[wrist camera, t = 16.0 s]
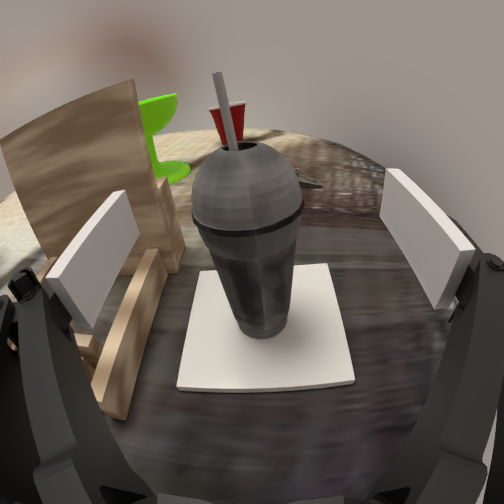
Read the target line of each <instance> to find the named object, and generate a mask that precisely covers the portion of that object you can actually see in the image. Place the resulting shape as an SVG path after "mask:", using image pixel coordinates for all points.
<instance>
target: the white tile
mask: <svg viewBox="0 0 504 504" xmlns="http://www.w3.org/2000/svg"><path fill="white" fill-rule="evenodd" d="M354 381H355V377H354V372H353V367H352V362H351V358H350V353H349V349H348V344H347V340H346V335H345V331H344V327H343V323H342V319H341V314H340V310H339V306H338V303H337V299H336V295H335V291H334V287H333V284H332V280H331V276H330V273H329V269H328V266H327V263H326V264H312V265H297V266H294V270H293V280H292V290H291V300H290V309H289V312H288V316H287V323H286V326H285V328H284V329H283V330H282V331H281V332H280V333H279V334H277V335H276V336H274V337H271V338H268V339H255V338H251V337H249V336H247V335H245V334H244V333H243V332H242V331H241V330H240V328H239V325H238V323H237V321H236V319H235V318H234V315H233V313H232V310H231V307H230V305H229V302H228V299H227V297H226V294H225V291H224V289H223V286H222V283H221V281H220V278H219V275H218V273H217V270H214V271H200V275H199V279H198V283H197V288H196V292H195V297H194V301H193V306H192V310H191V315H190V320H189V325H188V329H187V334H186V339H185V344H184V349H183V354H182V360H181V365H180V370H179V376H178V381H177V388H178V389H179V390H180V391H196V392H226V393H248V392H278V391H294V390H306V389H316V388H325V387H334V386H341V385H348V384H353V383H354Z"/></svg>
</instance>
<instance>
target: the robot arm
mask: <svg viewBox="0 0 504 504" xmlns="http://www.w3.org/2000/svg"><path fill="white" fill-rule="evenodd" d="M380 218H381V219H382V221H383V222H384V224H385V225H386V227H387V228H388V230H389V231H390V233H391V234H392V236H393V237H394V239H395V241H396V242H397V244H398V245H399V247H400V249H401V250H402V252H403V254H404V255H405V257H406V259H407V260H408V262H409V264H410V265H411V267H412V269H413V271H414V272H415V274H416V276H417V278H418V280H419V281H420V283H421V285H422V287H423V289H424V291H425V293H426V294H427V296H428V298H429V300H430V302H431V304H432V306H433V308H434V310H435V309H440V308H445V307H449V306H450V304H451V302H452V300H453V298H454V296H456V297H457V299H458V301H459V303H458V305H457V307H456V309H455V311H454V312H453V314H452V316H451V318H450V319H449V321H448V322H449V323H451V321H452V319H453V322H452V326H451V329H450V333H449V337H448V340H447V344H446V347H445V350H444V353H443V356H442V359H441V362H440V365H439V368H438V371H437V374H436V377H435V379H434V382H433V385H432V387H431V390H430V392H429V395H428V397H427V400H426V402H425V404H424V406H423V409H422V411H421V413H420V415H419V418H418V420H417V422H416V424H415V426H414V428H413V430H412V432H411V434H410V436H409V438H408V440H407V442H406V443H405V445H404V447H403V449H402V451H401V453H400V454H399V456H398V458H397V459H396V461H395V463H394V464H393V466H392V467H391V468H390V469H389V470H388V471H387V472H386V473H385V474H384V475H383V476H382V477H381V479H380V480H379V481H378V482H377V484H376V485H375V486H374V488H373V489H372V491H371V492H370V494H369V495H368V496H367V498H366V499H365V500H360V499H354V498H346V497H343V495H338V496H329V497H321V498H313V499H304V500H293V501H289V502H286V503H282V504H475V503H476V501H477V498H478V497H479V495H480V493H481V490H482V488H483V486H484V484H485V481H486V477H487V466H486V465H485V464H484V463H483V462H482V457H483V453H484V450H485V448H486V445H487V441H488V439H489V435H490V432H491V429H492V425H493V422H494V418H495V414H496V410H497V422H496V432H495V440H494V448H493V455H492V460H491V465H490V471H489V475H488V480H487V484H486V489H485V494H484V499H483V504H504V262H503V261H502V260H501V259H500V258H499V257H497V256H496V255H493V254H490V253H483V252H482V251H481V250H480V248H479V247H478V246H477V245H476V243H475V242H474V241H473V240H472V239H471V237H470V236H469V235H467V233H466V232H465V230H463V229H462V227H461V226H460V225H459V224H458V223H457V222H456V221H455V220H454V219H453V218H451V217H450V216H448V215H446V214H445V213H444V212H443V211H442V210H441V209H440V208H439V207H438V206H437V205H436V204H435V203H434V202H433V201H432V200H431V199H430V198H429V197H428V196H427V195H426V194H425V193H424V192H423V191H422V190H421V189H420V188H419V187H418V186H417V185H416V184H415V183H414V182H413V181H412V180H411V179H409V178H408V177H407V176H406V175H405V174H404V173H403V172H402V171H401V170H400V169H386V173H385V182H384V190H383V197H382V204H381V210H380ZM139 235H140V232H139V230H138V227H137V224H136V221H135V218H134V215H133V212H132V209H131V206H130V203H129V200H128V197H127V194H126V191H125V190H121V191H116V192H113V193H112V194H111V195H110V196H109V197H108V198H107V199H106V200H105V202H104V203H103V204H102V205H101V206H100V207H99V208H98V210H97V211H96V212H95V213H94V214H93V215H92V217H91V218H90V219H89V220H88V221H87V223H86V224H85V225H84V226H83V228H82V229H81V230H80V231H79V232H78V234H77V235H76V236H75V238H74V239H73V240H72V241H71V243H70V244H69V245H68V247H67V248H66V249H65V250H64V251H63V253H62V254H61V255H60V257H59V259H57V261H56V262H55V264H54V265H53V266H52V268H51V269H50V271H49V272H48V274H47V275H46V277H45V278H44V280H43V281H42V283H41V284H40V282H39V280H38V279H37V277H36V275H35V274H34V272H33V271H32V269H31V268H30V267H25V268H23V269H21V270H19V271H18V272H17V273H15V274H14V275H13V277H12V278H11V279H10V281H9V283H8V288H9V289H10V291H11V292H12V294H13V295H14V296H15V298H16V299H17V302H14V303H13V302H12V301H11V300H10V298H9V297H8V295H2V296H0V504H233V503H229V502H226V501H221V500H210V499H200V498H192V497H184V496H177V495H170V494H164V493H158V496H155V495H154V494H153V492H152V491H151V489H150V488H149V487H148V485H147V484H146V483H145V482H144V481H143V480H142V479H141V478H140V477H139V476H138V475H137V474H136V473H134V471H133V470H132V469H131V468H130V466H129V465H128V463H127V461H126V459H125V458H124V456H123V454H122V452H121V450H120V448H119V447H118V445H117V443H116V441H115V439H114V437H113V435H112V433H111V431H110V429H109V427H108V424H107V422H106V420H105V418H104V416H103V414H102V411H101V409H100V407H99V404H98V402H97V399H96V397H95V395H94V392H93V389H92V387H91V384H90V382H89V379H88V376H87V373H86V370H85V367H84V365H83V362H82V358H81V355H80V352H79V349H78V346H77V342H76V339H75V335H74V332H73V329H72V328H71V326H70V325H69V323H70V321H71V319H73V320H74V321H75V323H76V324H77V325H78V327H79V328H89V329H93V327H94V325H95V322H96V320H97V318H98V316H99V313H100V311H101V309H102V307H103V305H104V303H105V300H106V298H107V296H108V294H109V292H110V290H111V288H112V286H113V284H114V282H115V280H116V278H117V276H118V274H119V272H120V270H121V268H122V266H123V264H124V262H125V260H126V258H127V257H128V255H129V253H130V251H131V249H132V247H133V246H134V244H135V242H136V240H137V238H138V237H139ZM8 338H9V339H10V341H11V342H12V343H13V344H14V345H15V350H13V349H12V348H11V347H10V346H9V345H8V344H7V340H8Z"/></svg>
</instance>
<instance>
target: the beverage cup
mask: <svg viewBox="0 0 504 504" xmlns="http://www.w3.org/2000/svg"><path fill="white" fill-rule="evenodd" d="M212 76H213V80H214V84H215V88H216V93H217V97H218V102H219V107H220V111H221V116H222V120H223V125H224V129H225V133H226V138H227V142H228V144H226V145H224V146H222V147H220V148H218V149H217V150H215V151H214V152H213V153H212V154H210V155H209V156H208V157H207V158H206V160H205V161H204V162H203V163H202V165H201V167H200V169H199V171H198V172H197V174H196V177H195V180H194V182H193V187H192V206H193V208H192V218H193V222H194V224H195V225H196V226H197V227H198V230H199V233H200V235H201V237H202V239H203V241H204V243H205V245H206V246H207V247H208V248H209V251H210V253H211V256H212V259H213V262H214V264H215V267H216V270H217V273H218V275H219V278H220V281H221V283H222V286H223V289H224V291H225V294H226V297H227V299H228V302H229V305H230V307H231V310H232V313H233V315H234V318H235V319H236V321H237V323H238V325H239V328H240V330H241V331H242V332H243V333H244V334H245V335H247V336H249V337H251V338H255V339H268V338H271V337H274V336H276V335H277V334H279V333H280V332H281V331H282V330H283V329H284V328H285V326H286V323H287V316H288V312H289V309H290V300H291V290H292V280H293V270H294V259H295V248H296V237H297V234H298V231H299V227H300V222H301V217H302V211H303V209H304V206H305V204H304V201H303V197H302V194H301V188H300V185H299V181H298V178H297V175H296V173H295V171H294V169H293V167H292V166H291V164H290V163H289V161H288V160H287V159H286V158H285V157H284V156H283V155H282V154H280V153H279V152H278V151H276V150H275V149H273V148H272V147H270V146H268V145H266V144H263V143H259V142H255V141H237V140H236V135H235V131H234V126H233V121H232V117H231V112H230V107H229V103H228V98H227V93H226V89H225V85H224V80H223V75H222V72H216V73H213V74H212Z"/></svg>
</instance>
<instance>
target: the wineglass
mask: <svg viewBox="0 0 504 504" xmlns="http://www.w3.org/2000/svg"><path fill="white" fill-rule="evenodd" d="M138 103H139V108H140V113H141V118H142V123H143V128H144V132H145V137H146V141H147V145H148V150H149V154H150V158H151V162H152V166H153V170H154V174H155V178H161V177H168V182H169V185H170V184H173V183H175V182H177V181H179V180H181V179H182V178H184V177H185V176H186V175H187V174H188V173H189V172H190V170H191V168H190V166H189V165H188V164H187V163H185V162H182V161H166V162H161V163H160V162H159V161H158V160H157V155H156V151H155V147H154V142H153V138H152V135H154V134H155V133H157V132H159V131H160V130H162V129H163V128H164V127H165V126H166V125H167V124H168V123H169V122H170V121H171V119H172V117H173V115H174V113H175V110H176V106H177V94H169V95H165V96H160V97H155V98H151V99H147V100H144V101H140V102H138Z"/></svg>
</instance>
